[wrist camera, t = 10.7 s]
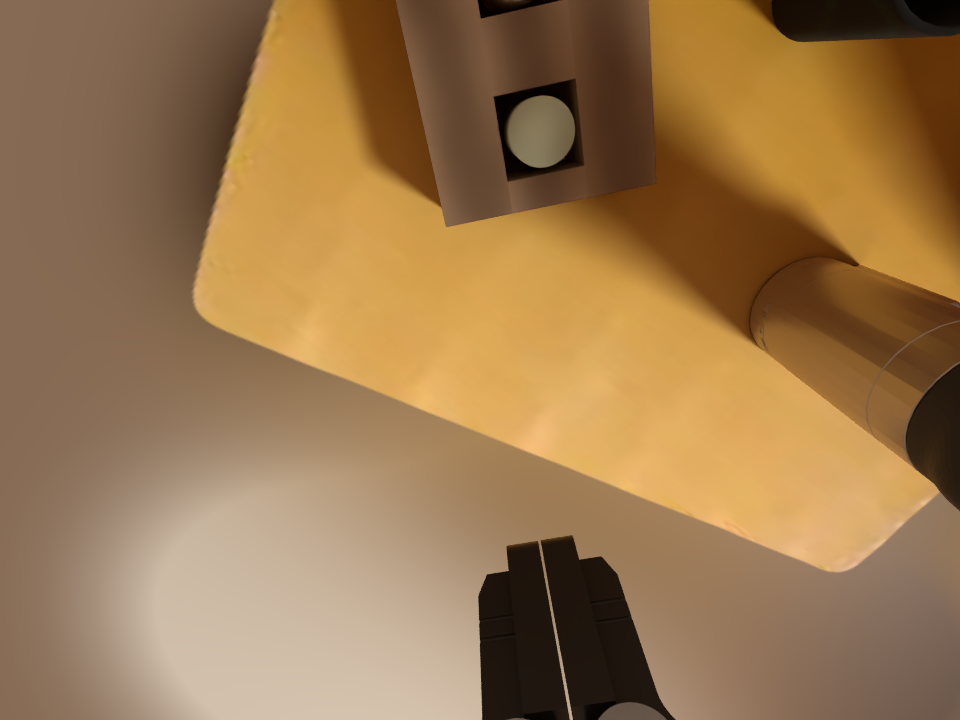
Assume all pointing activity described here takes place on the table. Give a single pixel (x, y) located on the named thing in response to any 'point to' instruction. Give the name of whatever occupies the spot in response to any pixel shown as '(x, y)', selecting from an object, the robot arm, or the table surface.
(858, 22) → the cup
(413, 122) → the table surface
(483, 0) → the peg birch
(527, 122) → the peg sage
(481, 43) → the socket block
